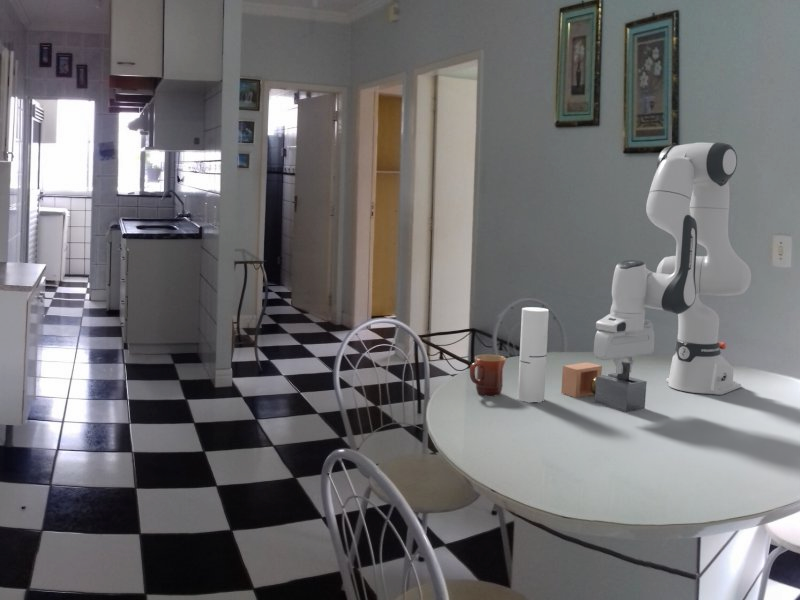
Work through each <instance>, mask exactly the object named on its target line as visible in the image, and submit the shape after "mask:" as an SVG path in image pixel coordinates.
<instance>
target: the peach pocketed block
mask: <svg viewBox="0 0 800 600" xmlns="http://www.w3.org/2000/svg"><path fill="white" fill-rule="evenodd" d="M602 370H603V366H602V365H600V364H596V363H593V362H592V363H591V362H589V361H586V362H580V363H574V364H573V363H571V364H566V365H562V370H561V371H562V373H561V374H562V375H561V393H560V394H562V393H563V394H562V395H565V394H566V395H565V396H568V395H569V396H568V397H571V396H572V398H574V399H576V398H577V399H578V398H582V397H588V396H594V395H595V394H593V393H592V391H591V388H590V386H591V382H592V380H593V379H594V378H595V377H596V376H599V375H602Z"/></svg>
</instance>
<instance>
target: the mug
mask: <svg viewBox="0 0 800 600" xmlns="http://www.w3.org/2000/svg"><path fill="white" fill-rule="evenodd" d="M474 360H475V362H473V363H472V364H471V365H469V366H470V367H469V378H470V380H471V381H472V383H473V384H475V389H476V392H477V393H478V394H479V395H480V394H481V396H484V395H487V396H486V397H496V396H495V395H497V396H499V395H501V394H502V391H503V386H504V385H503V384H504V383H503V382H504V368H505V367H504V366H505V364H506V361H507V358H506V357H505V356H502V355H498V354H478V355H477V354H476V355H475V356H474Z"/></svg>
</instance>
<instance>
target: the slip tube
mask: <svg viewBox="0 0 800 600" xmlns="http://www.w3.org/2000/svg"><path fill="white" fill-rule="evenodd" d="M622 366H623V367H625V370H624V371H625V373H623V374H618V373H617V379H620V380H624V381H627V382H629V377H630V373H631V372H630V363H627V362H626V361H623V362H622ZM590 388H591V391H592V393H593V394H594V395H595V392H596V377H595V378H594V379H593V380H592V382H591V386H590Z"/></svg>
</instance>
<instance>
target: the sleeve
mask: <svg viewBox="0 0 800 600" xmlns="http://www.w3.org/2000/svg"><path fill="white" fill-rule="evenodd" d="M594 395H595V396H594V403H596V404H598V403H599V404H598V405H601V404H602V406H604V405H605V407H608V408H611V409H614V410H617V411H620V412H624V413H630V412H634V411H640V410H644V409H646V396H647V381H646V380H643V379H640V378H636V377H632V376H629V382H627V381H624V380H620V379H617V373H616V372H612V373H608V375H605V374H601V375H599V376H596V392H595V394H594Z"/></svg>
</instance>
